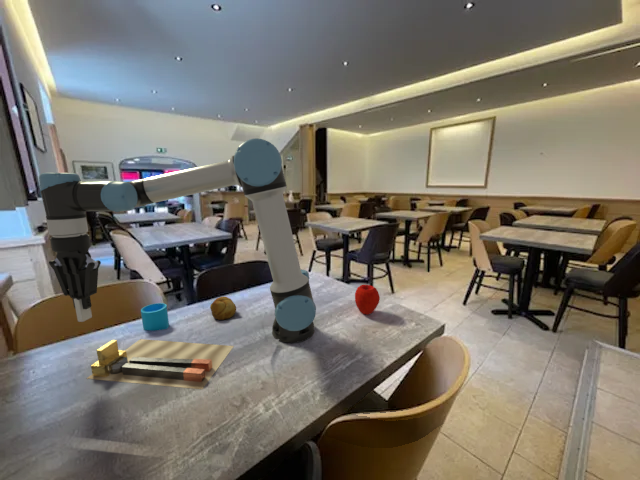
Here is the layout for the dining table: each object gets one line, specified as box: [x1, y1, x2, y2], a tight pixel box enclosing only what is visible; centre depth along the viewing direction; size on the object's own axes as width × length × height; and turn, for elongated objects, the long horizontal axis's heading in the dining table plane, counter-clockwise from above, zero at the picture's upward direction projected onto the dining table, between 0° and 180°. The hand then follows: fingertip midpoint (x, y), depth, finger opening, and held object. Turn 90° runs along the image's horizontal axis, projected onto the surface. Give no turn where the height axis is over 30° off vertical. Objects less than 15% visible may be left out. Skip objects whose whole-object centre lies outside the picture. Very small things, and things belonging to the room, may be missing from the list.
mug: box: [140, 302, 170, 332], centre depth 103 cm, size 12×8×8 cm
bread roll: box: [209, 296, 237, 321], centre depth 112 cm, size 13×10×8 cm
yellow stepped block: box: [90, 339, 127, 377], centre depth 77 cm, size 4×7×7 cm, turn 173°
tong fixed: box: [108, 357, 205, 382], centre depth 75 cm, size 28×4×2 cm, turn 83°
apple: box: [354, 284, 381, 316], centre depth 112 cm, size 10×10×12 cm
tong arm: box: [129, 357, 212, 372], centre depth 77 cm, size 23×2×2 cm, turn 87°
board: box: [86, 338, 235, 390], centre depth 81 cm, size 33×19×2 cm, turn 83°
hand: (85, 319), depth 75 cm, fingers closed
